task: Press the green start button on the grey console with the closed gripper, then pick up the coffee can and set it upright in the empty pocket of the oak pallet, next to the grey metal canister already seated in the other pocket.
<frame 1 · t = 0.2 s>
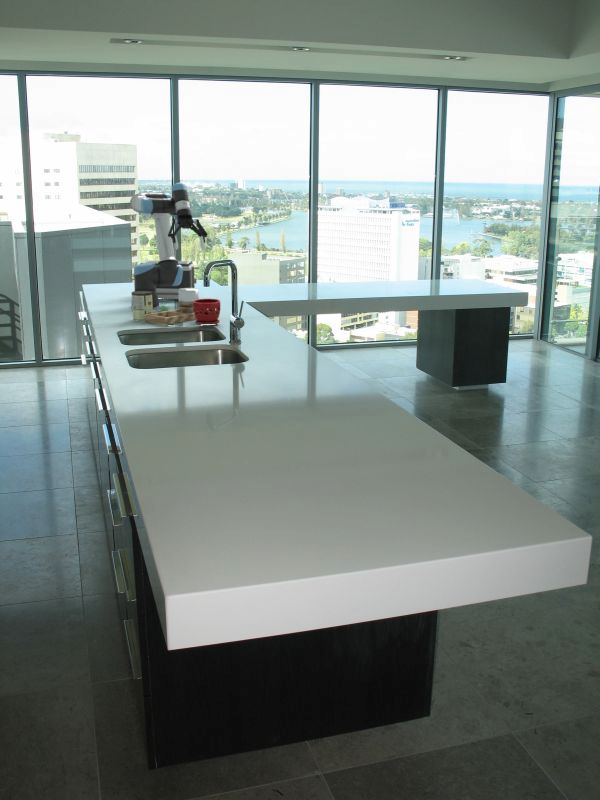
hand: (190, 248, 417), 35 cm above the table, tool tilted 35°, fingers open, 13 cm apart
plant pot: (207, 325, 407), on the table
coffee can: (142, 320, 417), on the table
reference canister: (188, 316, 423), point 1 cm above the table, touching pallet
console: (165, 317, 427), on the table
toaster: (170, 298, 498), on the table
start button: (164, 309, 426), point 4 cm above the table, slide at 0.0 cm
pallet: (178, 320, 417), on the table
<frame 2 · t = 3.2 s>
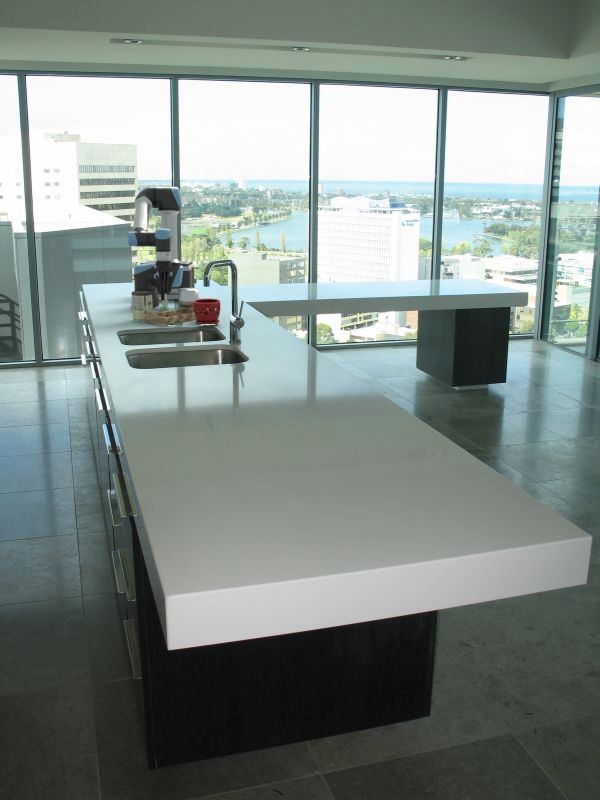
hand: (164, 306, 426), 5 cm above the table, tool pointing down, fingers closed
start button: (164, 311, 427), point 3 cm above the table, slide at 0.7 cm
everything else where it was.
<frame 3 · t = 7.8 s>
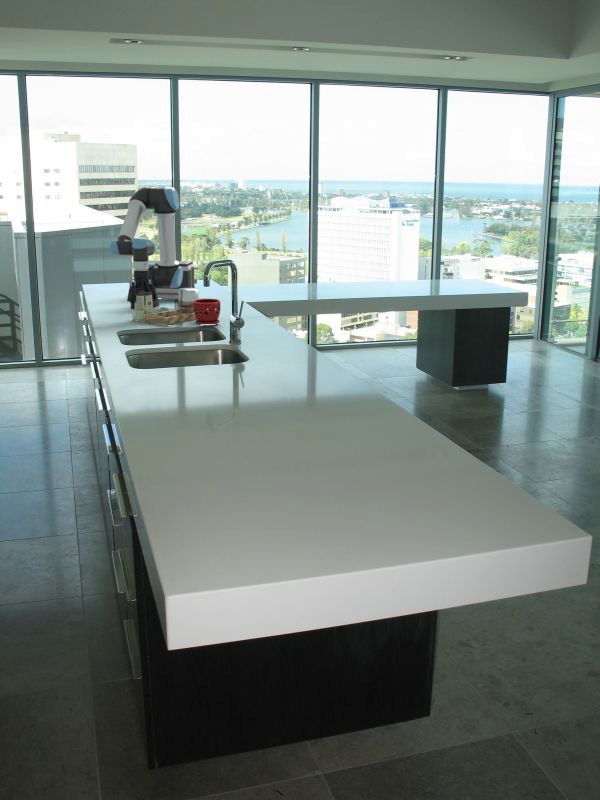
hand: (142, 314, 417), 3 cm above the table, tool pointing down, fingers closed on coffee can, 10 cm apart
coffee can: (142, 320, 417), on the table, touching gripper
everything else where it was.
when the fingers open (6 cm above the table, at t = 13.3 s): coffee can drops 2 cm, resting on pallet.
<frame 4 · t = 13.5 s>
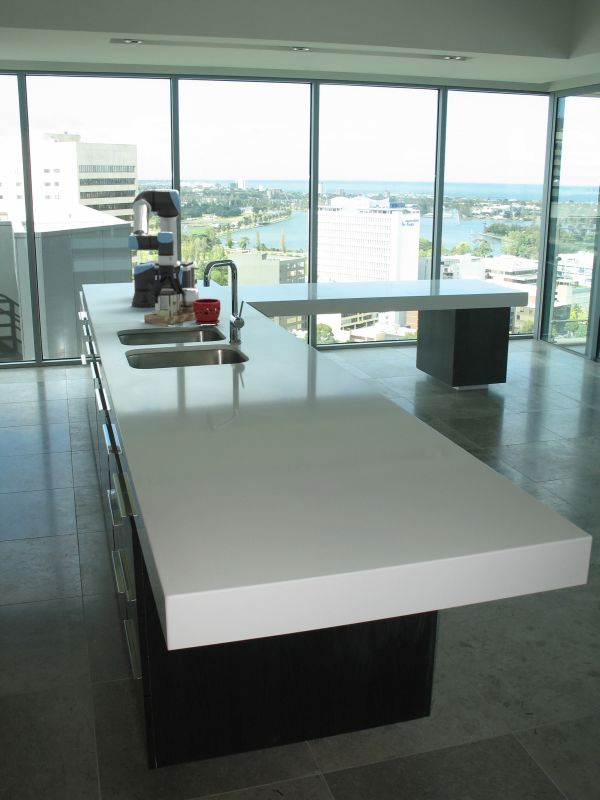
hand: (167, 308, 410), 7 cm above the table, tool pointing down, fingers open, 12 cm apart
coffee can: (167, 320, 411), point 1 cm above the table, touching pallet
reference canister: (188, 316, 423), point 1 cm above the table, touching gripper, hand, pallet
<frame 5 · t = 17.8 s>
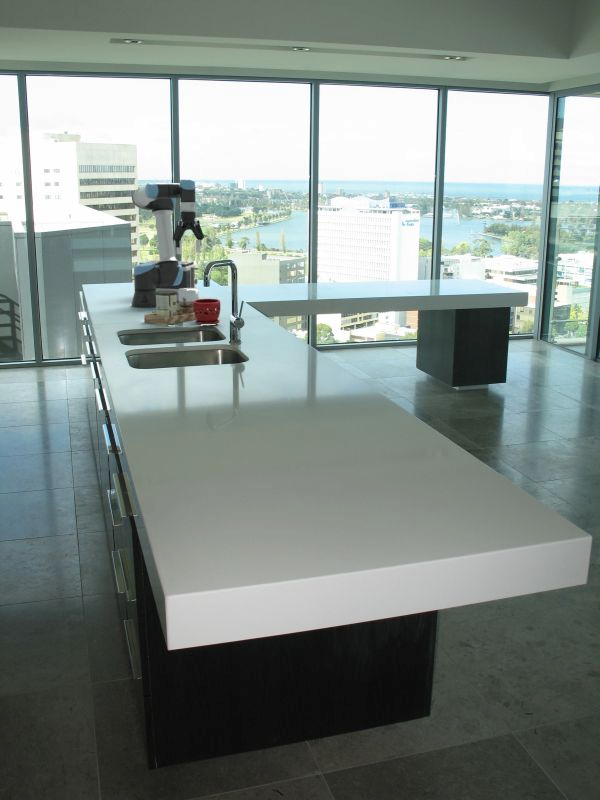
hand: (188, 253, 428), 32 cm above the table, tool pointing down, fingers open, 13 cm apart
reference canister: (188, 316, 423), point 1 cm above the table, touching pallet
at the end: coffee can 0.4 cm from the target spot on the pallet, point 0.8 cm above the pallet's base; coffee can tilted 0°; start button slide at 0.9 cm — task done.
